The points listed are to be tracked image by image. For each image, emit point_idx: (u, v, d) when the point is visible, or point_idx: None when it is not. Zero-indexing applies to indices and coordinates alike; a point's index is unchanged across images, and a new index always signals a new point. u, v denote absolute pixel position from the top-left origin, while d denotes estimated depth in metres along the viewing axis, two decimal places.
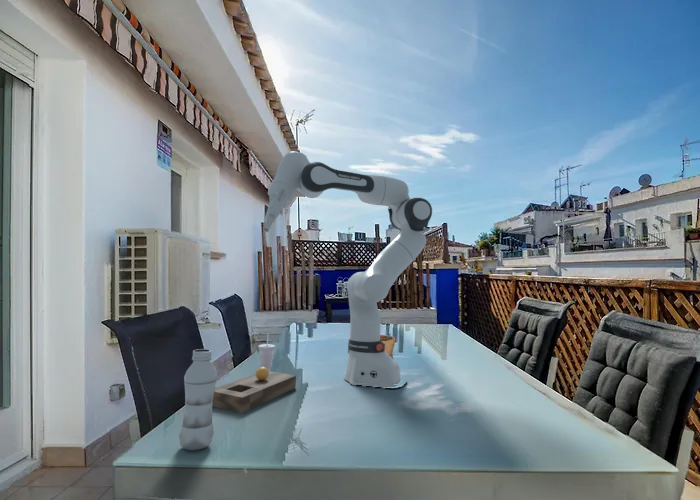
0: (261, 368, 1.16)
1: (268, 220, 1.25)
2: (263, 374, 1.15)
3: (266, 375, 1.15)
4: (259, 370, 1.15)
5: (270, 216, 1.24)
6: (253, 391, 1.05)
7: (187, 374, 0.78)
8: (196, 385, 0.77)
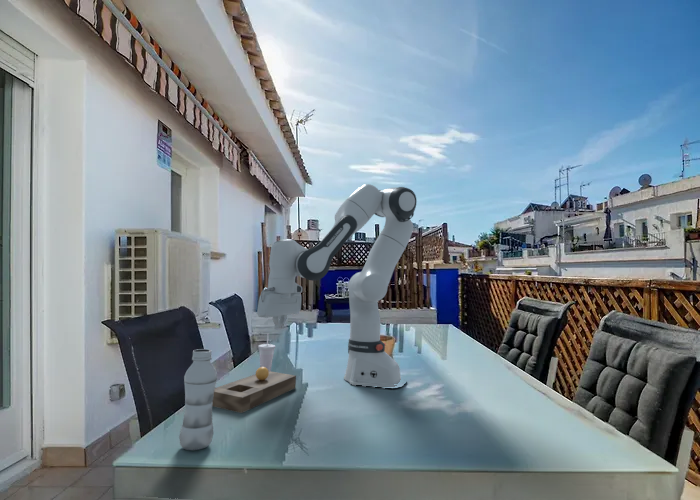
0: (261, 368, 1.16)
1: (274, 321, 1.23)
2: (263, 374, 1.15)
3: (266, 375, 1.15)
4: (259, 370, 1.15)
5: (274, 317, 1.23)
6: (253, 391, 1.05)
7: (187, 374, 0.78)
8: (196, 385, 0.77)
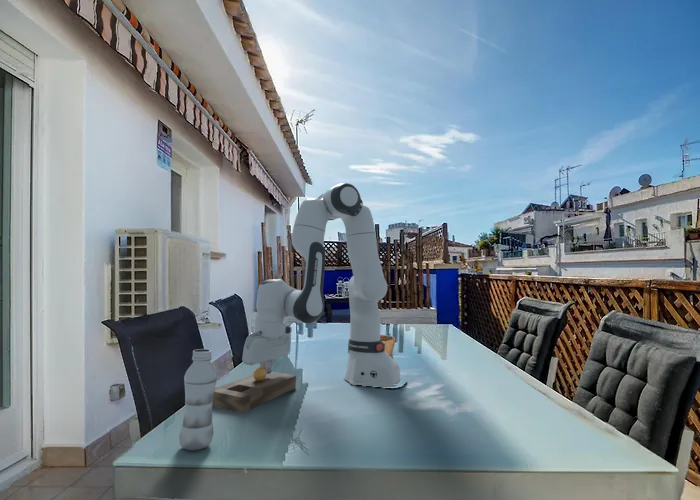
0: (257, 372, 1.14)
1: (261, 366, 1.17)
2: (260, 377, 1.14)
3: (264, 376, 1.14)
4: (255, 374, 1.14)
5: (261, 362, 1.17)
6: (253, 391, 1.05)
7: (187, 374, 0.78)
8: (196, 385, 0.77)
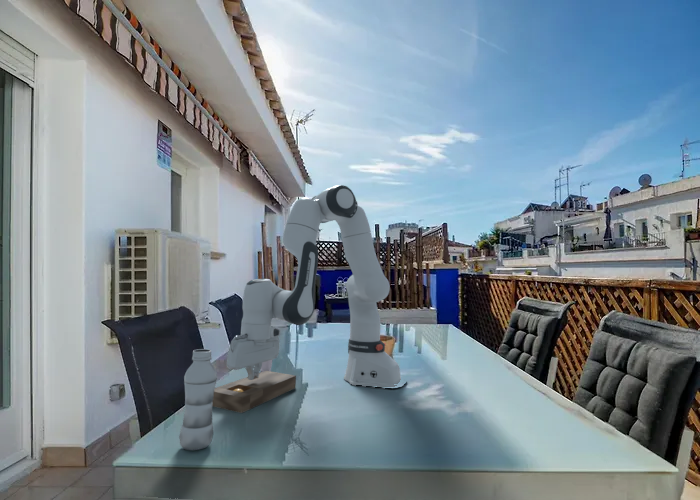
0: None
1: (247, 371, 1.11)
2: None
3: None
4: None
5: (247, 366, 1.11)
6: (253, 391, 1.05)
7: (187, 374, 0.78)
8: (196, 385, 0.77)
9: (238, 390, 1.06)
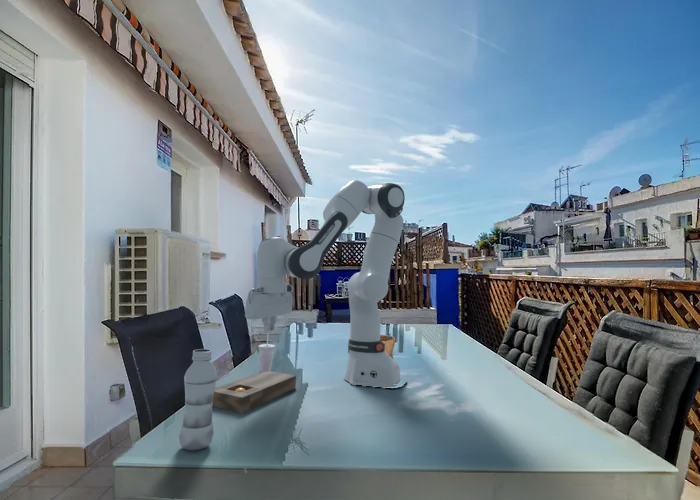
0: (238, 390, 1.06)
1: (264, 323, 1.18)
2: None
3: None
4: None
5: (263, 319, 1.17)
6: (253, 391, 1.05)
7: (187, 374, 0.78)
8: (196, 385, 0.77)
9: (243, 388, 1.08)
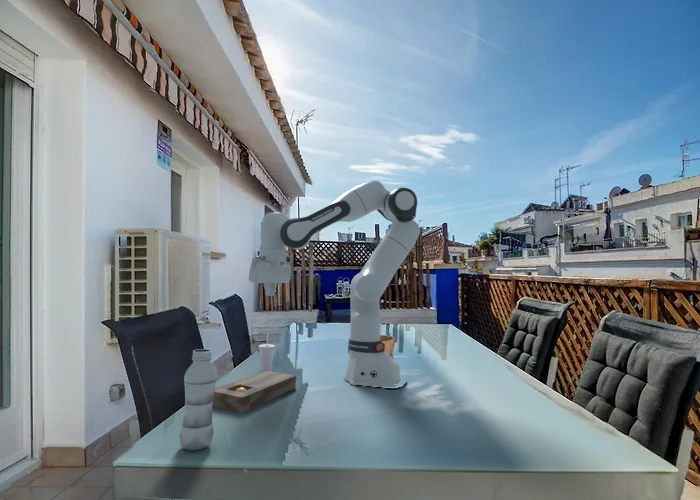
0: (240, 389, 1.07)
1: (265, 288, 1.33)
2: None
3: None
4: (237, 391, 1.06)
5: (265, 284, 1.33)
6: (253, 391, 1.05)
7: (187, 374, 0.78)
8: (196, 385, 0.77)
9: (244, 388, 1.08)
